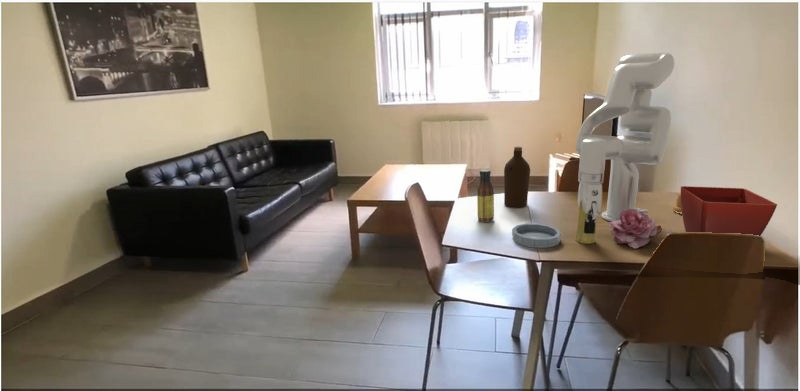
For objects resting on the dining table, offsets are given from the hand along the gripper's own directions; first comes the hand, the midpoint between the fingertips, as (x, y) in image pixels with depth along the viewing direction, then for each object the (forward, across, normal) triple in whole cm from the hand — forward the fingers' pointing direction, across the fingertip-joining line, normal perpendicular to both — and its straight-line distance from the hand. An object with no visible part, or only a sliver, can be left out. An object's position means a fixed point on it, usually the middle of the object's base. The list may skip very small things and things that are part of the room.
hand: (585, 229), depth 146 cm
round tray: (+4, +1, +16) cm, 17 cm away
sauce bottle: (+4, +21, +31) cm, 38 cm away
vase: (+4, 0, 0) cm, 4 cm away
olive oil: (+4, +41, +16) cm, 44 cm away
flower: (+4, 0, -15) cm, 16 cm away
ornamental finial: (+4, +30, -47) cm, 56 cm away
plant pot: (+4, -3, -40) cm, 40 cm away
